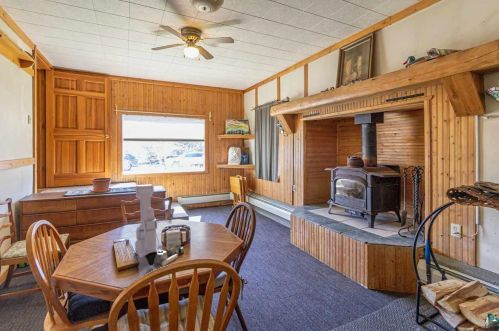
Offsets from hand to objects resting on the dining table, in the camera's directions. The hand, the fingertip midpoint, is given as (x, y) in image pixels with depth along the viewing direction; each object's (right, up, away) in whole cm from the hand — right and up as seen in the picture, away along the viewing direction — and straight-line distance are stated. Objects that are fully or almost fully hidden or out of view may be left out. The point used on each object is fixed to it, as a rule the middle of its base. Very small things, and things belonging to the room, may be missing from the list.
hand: (151, 264), depth 146 cm
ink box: (+5, 0, +27) cm, 27 cm away
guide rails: (+4, -1, +10) cm, 11 cm away
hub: (+3, -1, +7) cm, 8 cm away
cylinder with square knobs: (+8, 0, +19) cm, 21 cm away
